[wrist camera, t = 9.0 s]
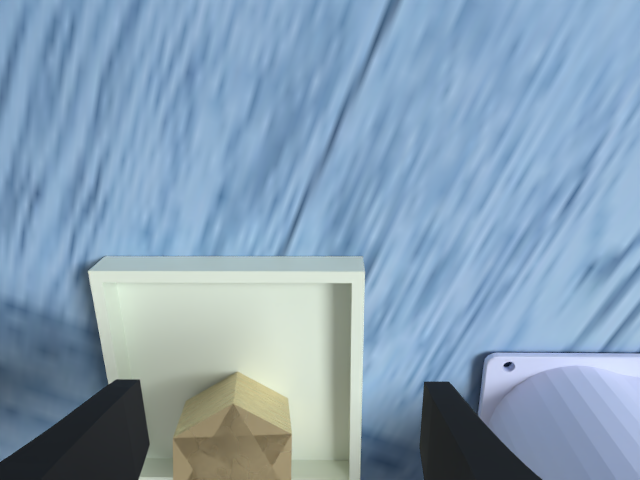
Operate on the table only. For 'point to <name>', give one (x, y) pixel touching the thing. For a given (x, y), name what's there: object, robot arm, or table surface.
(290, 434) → the wooden polyhedron
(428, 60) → the table surface
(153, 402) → the parts tray
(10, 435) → the table surface
